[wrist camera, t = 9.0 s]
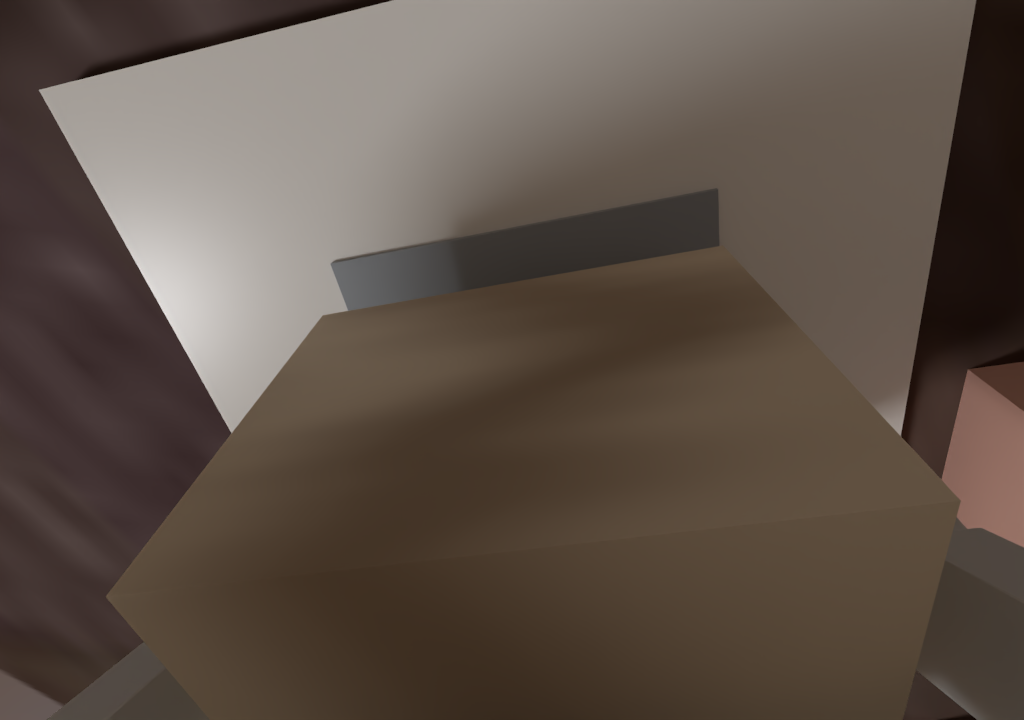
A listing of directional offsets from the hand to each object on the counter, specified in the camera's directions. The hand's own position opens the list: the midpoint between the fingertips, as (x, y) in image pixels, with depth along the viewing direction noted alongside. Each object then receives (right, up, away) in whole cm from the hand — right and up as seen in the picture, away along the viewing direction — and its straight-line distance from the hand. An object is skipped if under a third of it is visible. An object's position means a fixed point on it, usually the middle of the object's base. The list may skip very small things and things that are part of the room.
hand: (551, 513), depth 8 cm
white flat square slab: (0, +2, +4) cm, 4 cm away
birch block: (0, +1, +1) cm, 2 cm away
